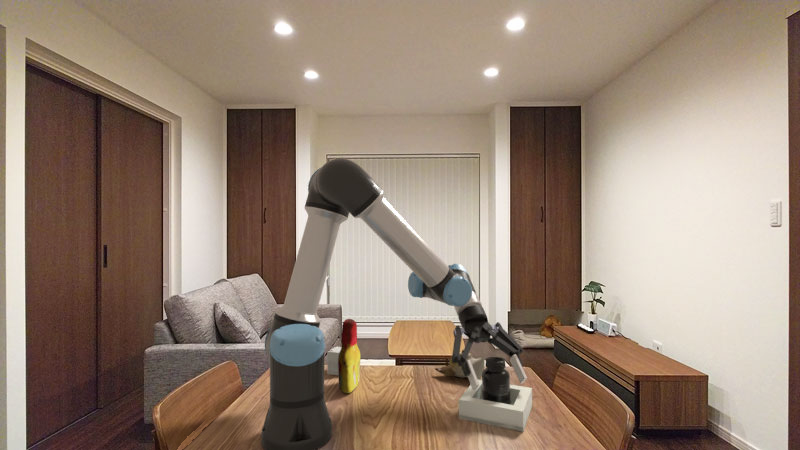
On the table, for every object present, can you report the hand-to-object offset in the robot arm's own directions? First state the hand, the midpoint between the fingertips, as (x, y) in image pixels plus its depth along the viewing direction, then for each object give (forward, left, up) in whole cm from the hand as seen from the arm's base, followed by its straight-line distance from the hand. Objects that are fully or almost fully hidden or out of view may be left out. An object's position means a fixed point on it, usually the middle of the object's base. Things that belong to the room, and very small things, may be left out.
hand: (500, 384), depth 96 cm
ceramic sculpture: (-16, +21, -8) cm, 28 cm away
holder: (-1, +1, -7) cm, 8 cm away
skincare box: (-53, +8, -8) cm, 55 cm away
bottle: (-43, -2, -8) cm, 44 cm away
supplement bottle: (-1, +1, -7) cm, 7 cm away
